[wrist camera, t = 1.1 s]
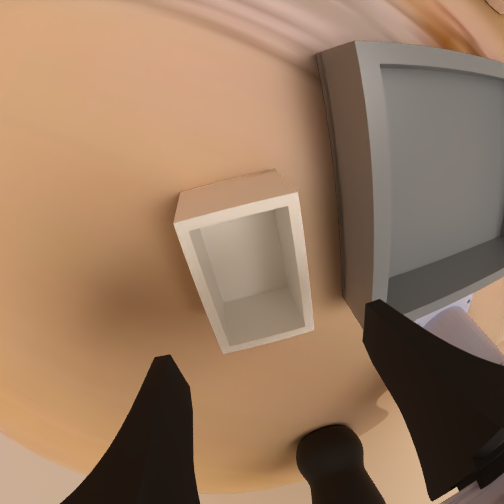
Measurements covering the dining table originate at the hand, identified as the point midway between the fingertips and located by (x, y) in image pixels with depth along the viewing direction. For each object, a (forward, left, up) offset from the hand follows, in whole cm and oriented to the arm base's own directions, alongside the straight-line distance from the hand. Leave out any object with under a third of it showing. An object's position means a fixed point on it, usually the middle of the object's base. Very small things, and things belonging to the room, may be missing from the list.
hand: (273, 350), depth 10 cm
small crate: (0, 0, -9) cm, 9 cm away
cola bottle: (-30, -4, -9) cm, 31 cm away
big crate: (+2, -15, -8) cm, 17 cm away
